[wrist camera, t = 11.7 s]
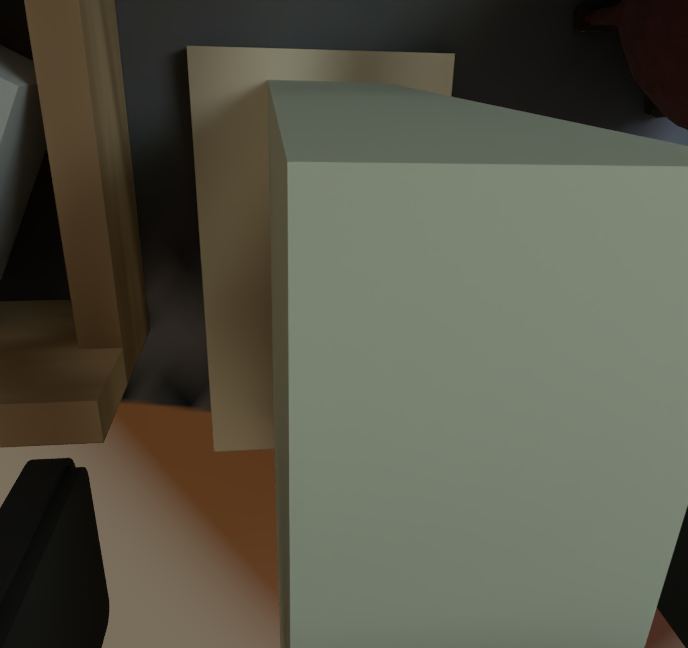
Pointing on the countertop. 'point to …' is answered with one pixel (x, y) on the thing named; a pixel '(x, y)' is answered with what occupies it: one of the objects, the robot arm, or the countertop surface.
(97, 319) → the oak rack
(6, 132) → the offcut grey
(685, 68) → the mate gourd
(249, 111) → the cork board
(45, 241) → the countertop surface
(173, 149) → the countertop surface
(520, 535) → the sage panel
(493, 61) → the countertop surface
